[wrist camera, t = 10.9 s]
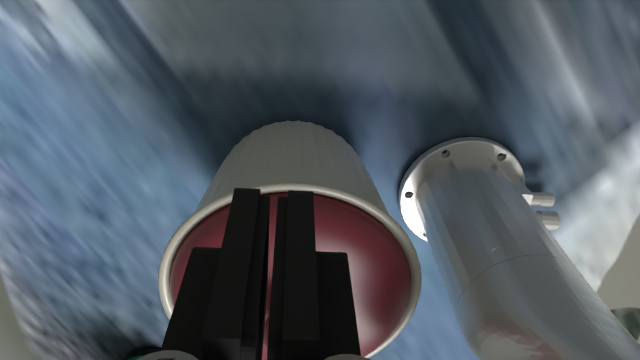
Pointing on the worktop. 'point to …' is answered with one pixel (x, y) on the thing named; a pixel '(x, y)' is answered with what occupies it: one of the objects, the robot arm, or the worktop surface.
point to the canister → (330, 223)
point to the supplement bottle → (140, 353)
